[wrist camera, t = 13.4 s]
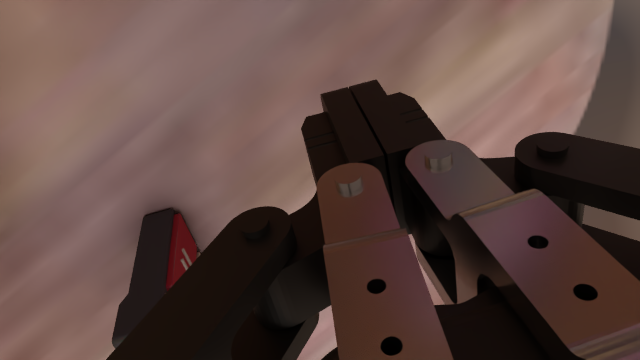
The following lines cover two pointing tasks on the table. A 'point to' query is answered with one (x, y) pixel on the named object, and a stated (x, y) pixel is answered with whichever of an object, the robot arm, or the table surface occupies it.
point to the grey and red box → (155, 268)
